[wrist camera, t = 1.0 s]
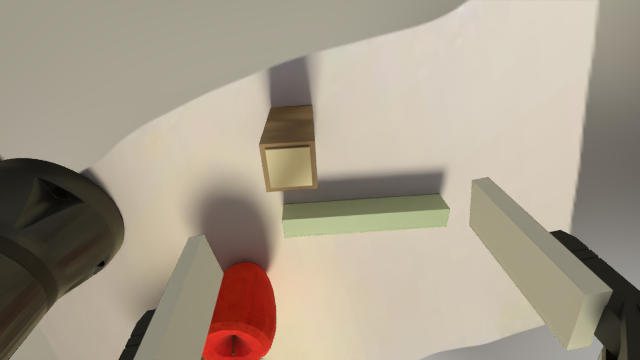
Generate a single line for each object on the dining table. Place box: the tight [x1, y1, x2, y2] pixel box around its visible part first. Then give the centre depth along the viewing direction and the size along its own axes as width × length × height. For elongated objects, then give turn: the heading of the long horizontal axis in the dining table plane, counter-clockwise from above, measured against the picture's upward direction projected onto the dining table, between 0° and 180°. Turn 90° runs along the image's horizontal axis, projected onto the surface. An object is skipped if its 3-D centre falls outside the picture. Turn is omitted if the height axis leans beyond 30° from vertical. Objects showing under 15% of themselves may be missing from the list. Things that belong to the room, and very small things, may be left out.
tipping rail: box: [282, 194, 450, 238], centre depth 35 cm, size 18×2×3 cm, turn 93°
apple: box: [202, 262, 276, 360], centre depth 36 cm, size 9×9×11 cm
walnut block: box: [259, 105, 318, 192], centre depth 27 cm, size 4×4×9 cm
